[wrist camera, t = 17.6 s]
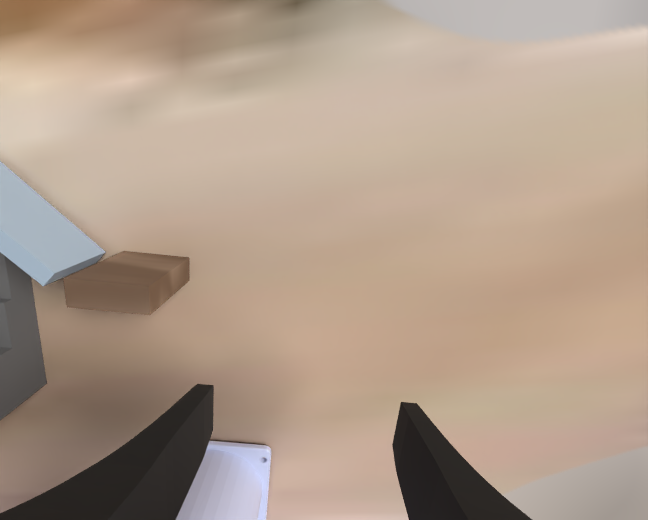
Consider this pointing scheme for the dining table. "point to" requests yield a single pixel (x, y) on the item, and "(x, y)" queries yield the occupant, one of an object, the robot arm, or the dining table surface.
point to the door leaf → (40, 233)
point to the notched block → (18, 338)
